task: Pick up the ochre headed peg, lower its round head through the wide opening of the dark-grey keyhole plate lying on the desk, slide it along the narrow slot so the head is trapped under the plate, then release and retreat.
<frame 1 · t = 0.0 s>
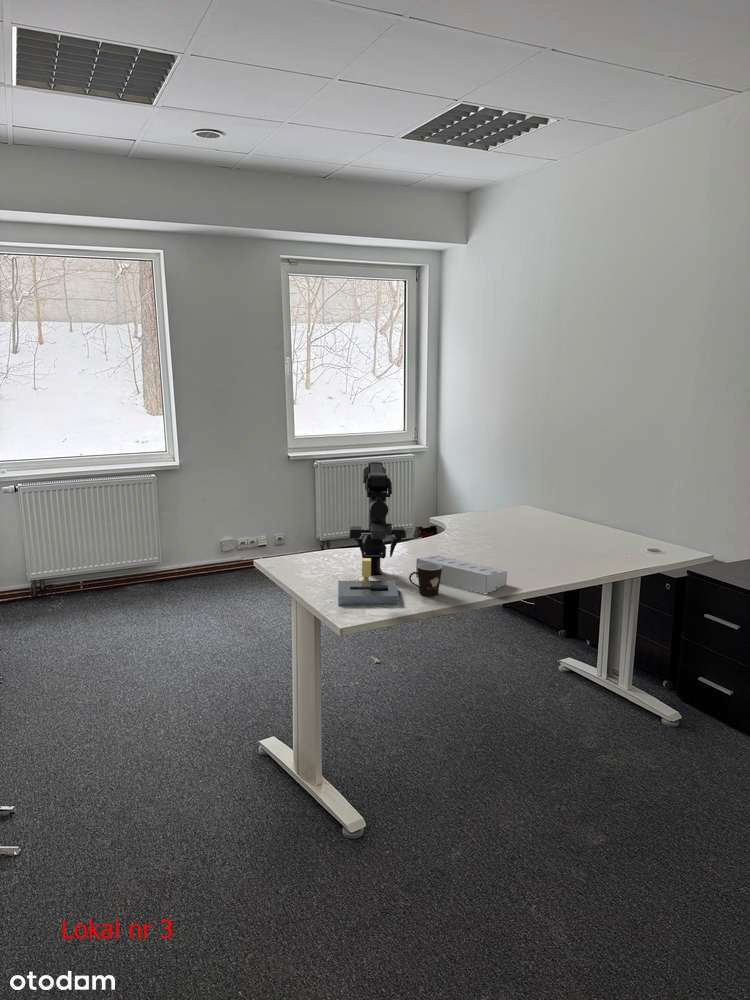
hand: (377, 557, 235), 15 cm above the table, fingers open, 9 cm apart
peg: (366, 584, 252), on the table
coffee mug: (424, 594, 243), on the table
keyhole plate: (367, 597, 239), on the table
white power strip: (460, 582, 257), on the table
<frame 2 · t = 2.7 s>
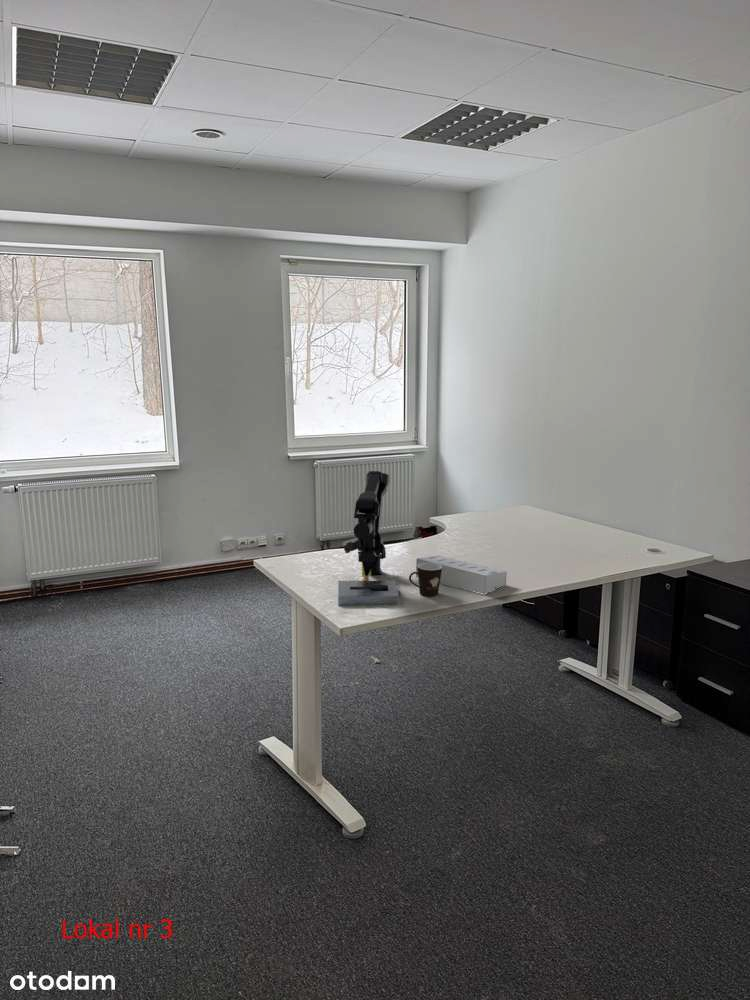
hand: (366, 574, 251), 4 cm above the table, fingers closed on peg, 3 cm apart
peg: (366, 584, 252), on the table, touching gripper
everything else where it was.
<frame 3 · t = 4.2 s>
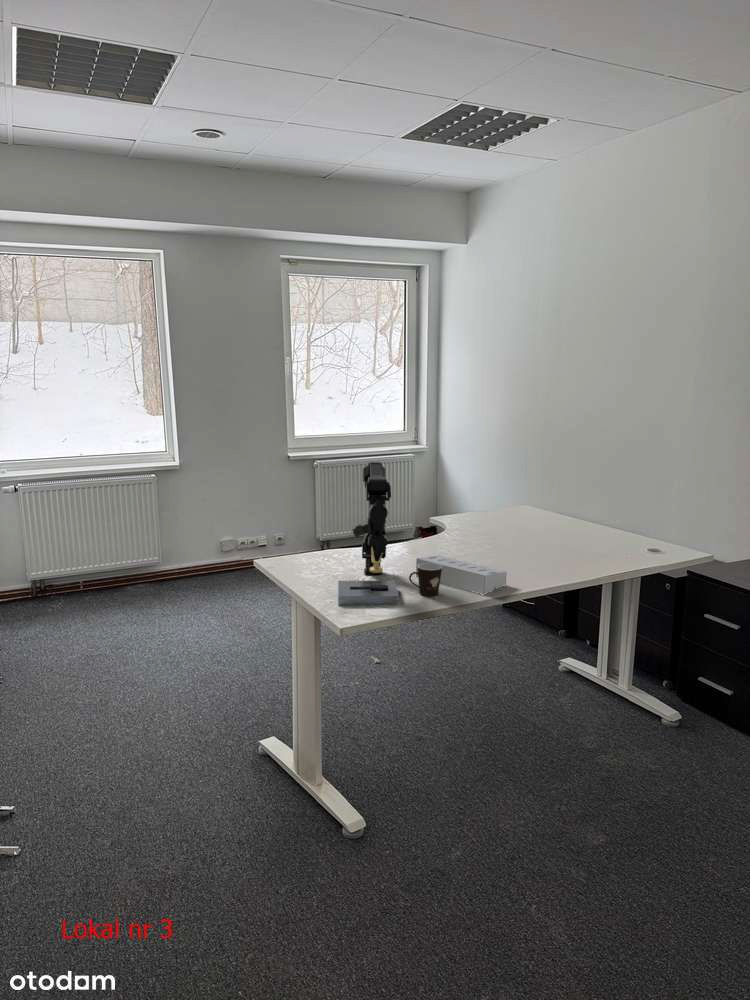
hand: (376, 559, 239), 13 cm above the table, fingers closed on peg, 3 cm apart
peg: (376, 571, 239), point 9 cm above the table, touching gripper
everything else where it was.
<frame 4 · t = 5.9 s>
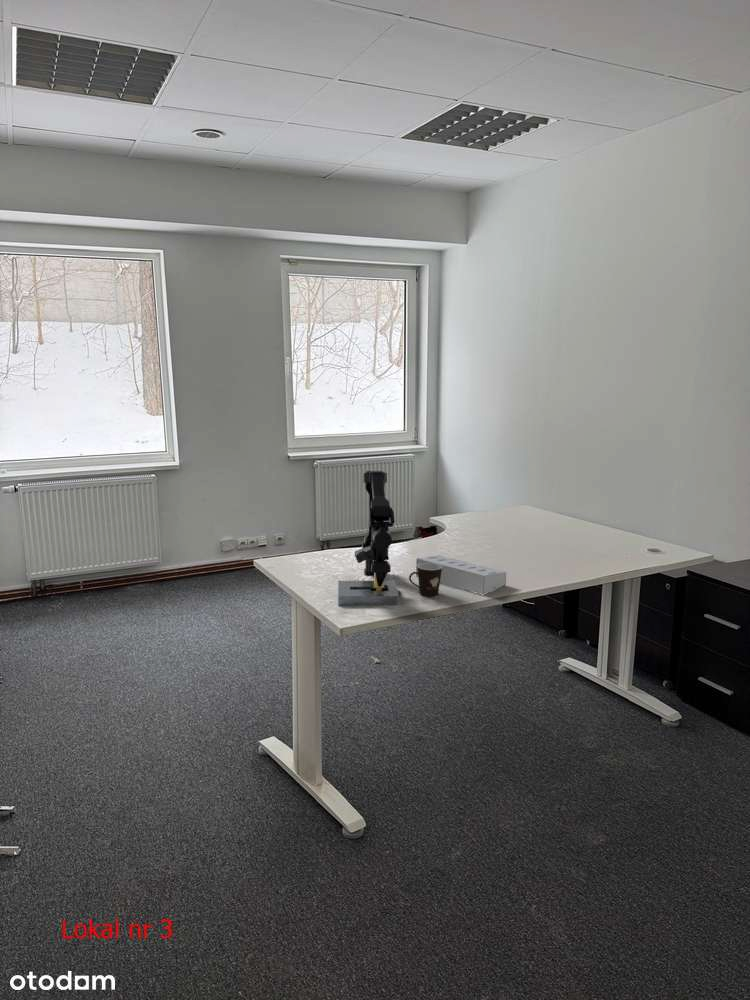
hand: (379, 584, 238), 4 cm above the table, fingers closed on peg, 3 cm apart
peg: (378, 595, 239), resting in keyhole plate, touching gripper
everything else where it was.
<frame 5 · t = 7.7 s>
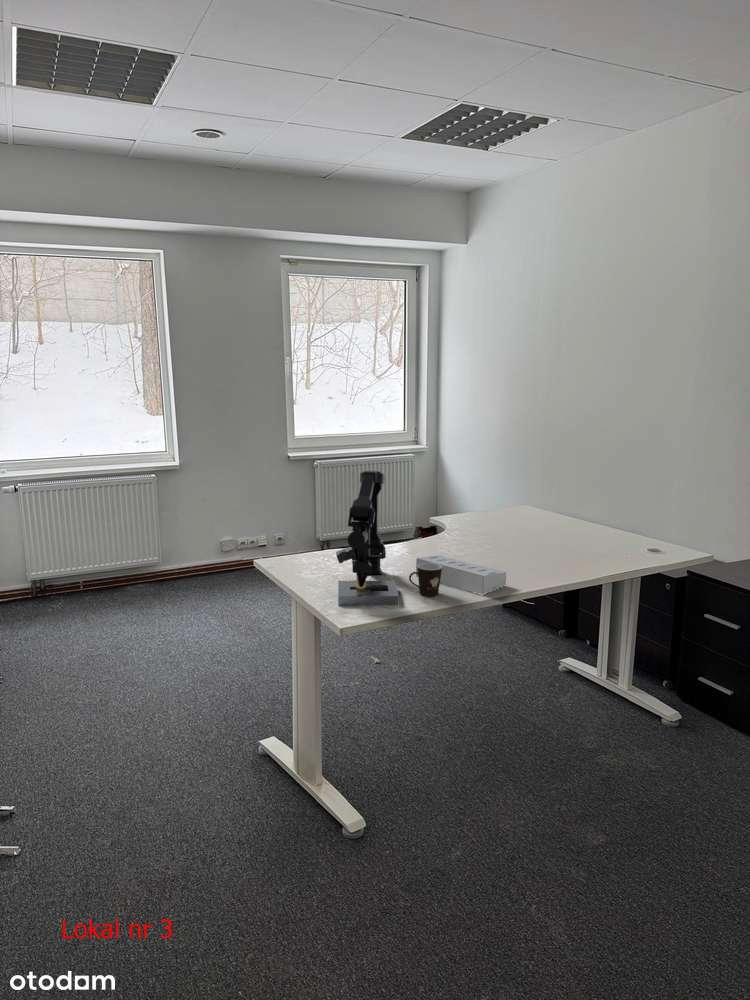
hand: (360, 584, 238), 4 cm above the table, fingers closed on peg, 3 cm apart
peg: (360, 596, 239), resting in keyhole plate, touching gripper
everything else where it was.
when the fingers open (4 cm above the table, at t = 9.1 s): peg stays where it is, resting in keyhole plate.
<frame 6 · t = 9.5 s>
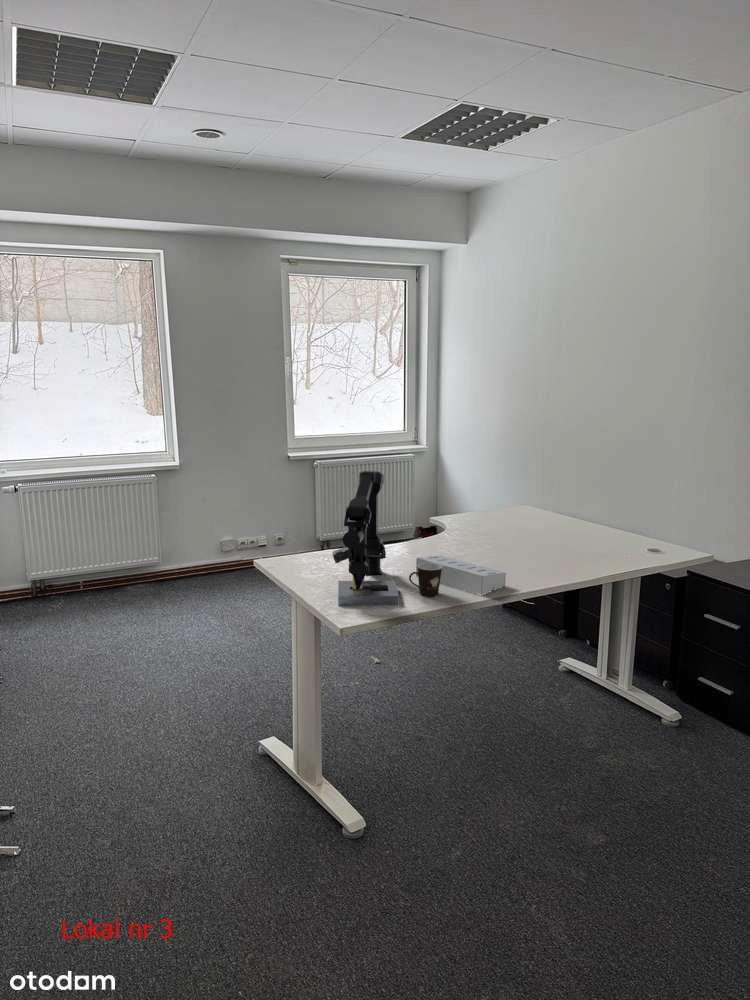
hand: (357, 584, 238), 4 cm above the table, fingers open, 8 cm apart
peg: (357, 597, 239), resting in keyhole plate
everything else where it was.
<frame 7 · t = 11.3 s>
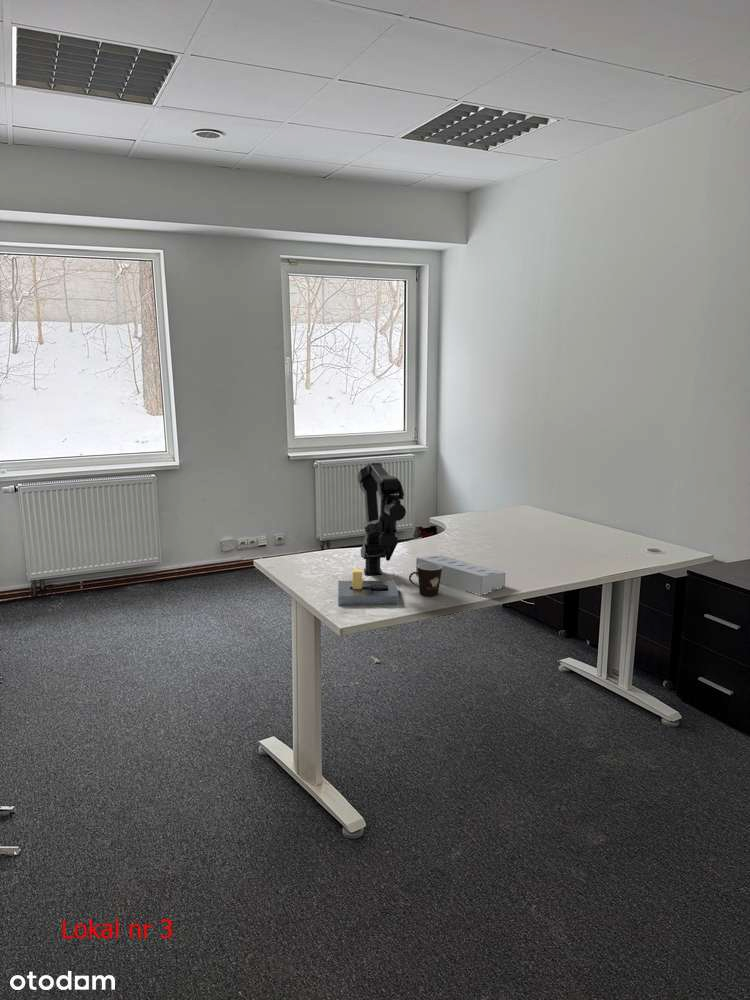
hand: (387, 556, 246), 12 cm above the table, fingers open, 9 cm apart
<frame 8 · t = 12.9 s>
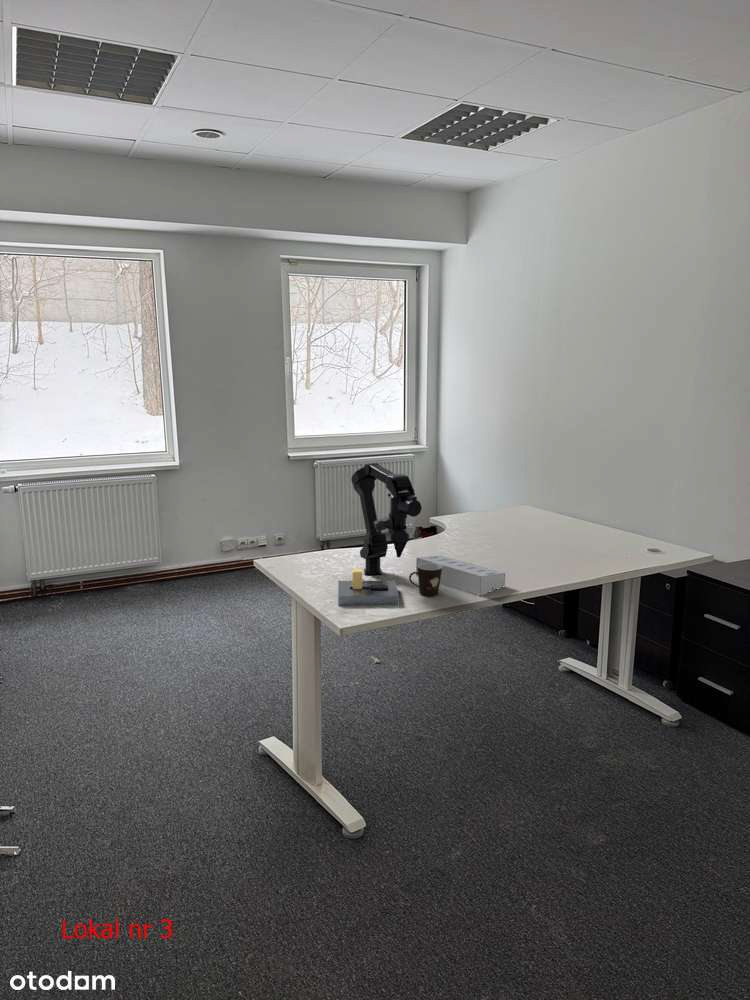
hand: (397, 553, 249), 12 cm above the table, fingers open, 9 cm apart
nothing on the table moved.
at the end: peg 2.5 cm from the target spot on the keyhole plate, point 0.0 cm above the keyhole plate's base; the gripper is holding nothing; peg tilted 0° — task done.
